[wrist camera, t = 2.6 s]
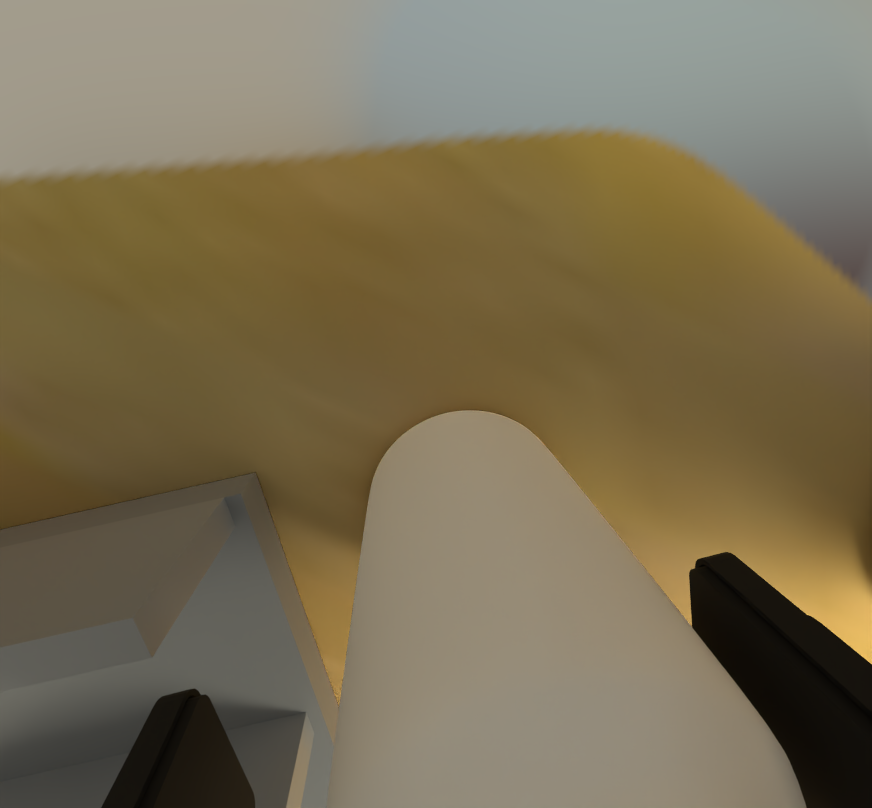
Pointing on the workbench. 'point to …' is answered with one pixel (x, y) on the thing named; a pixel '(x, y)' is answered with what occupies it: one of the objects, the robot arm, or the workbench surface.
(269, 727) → the rack
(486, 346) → the workbench surface
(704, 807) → the can
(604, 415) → the workbench surface
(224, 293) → the workbench surface
